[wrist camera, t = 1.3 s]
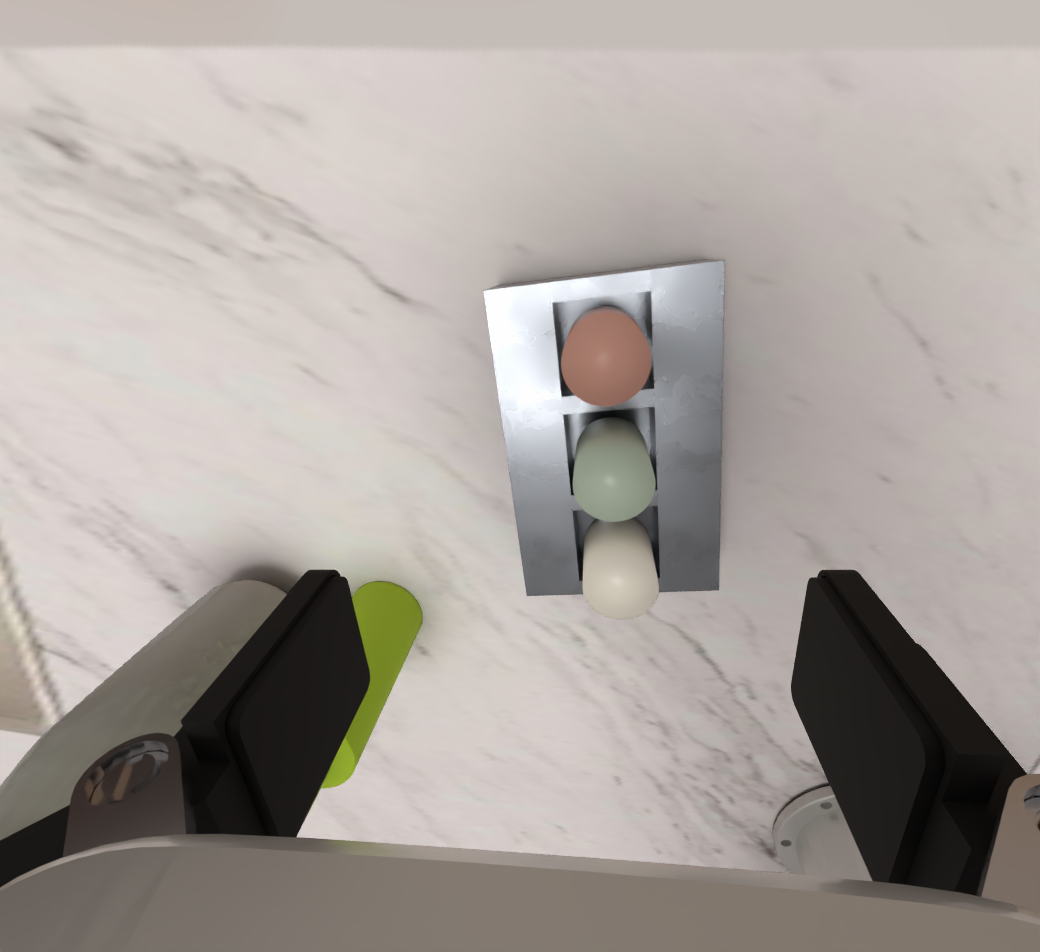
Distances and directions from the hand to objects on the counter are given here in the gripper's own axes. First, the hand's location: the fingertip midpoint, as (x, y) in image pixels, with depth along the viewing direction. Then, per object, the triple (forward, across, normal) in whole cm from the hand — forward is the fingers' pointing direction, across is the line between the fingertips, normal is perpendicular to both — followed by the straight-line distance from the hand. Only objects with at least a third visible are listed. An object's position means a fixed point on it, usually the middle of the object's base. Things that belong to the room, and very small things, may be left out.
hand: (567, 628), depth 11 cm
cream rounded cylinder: (+20, -2, +10) cm, 23 cm away
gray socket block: (+24, -2, +4) cm, 25 cm away
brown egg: (+20, -1, -2) cm, 21 cm away
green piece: (+20, -2, +4) cm, 21 cm away
